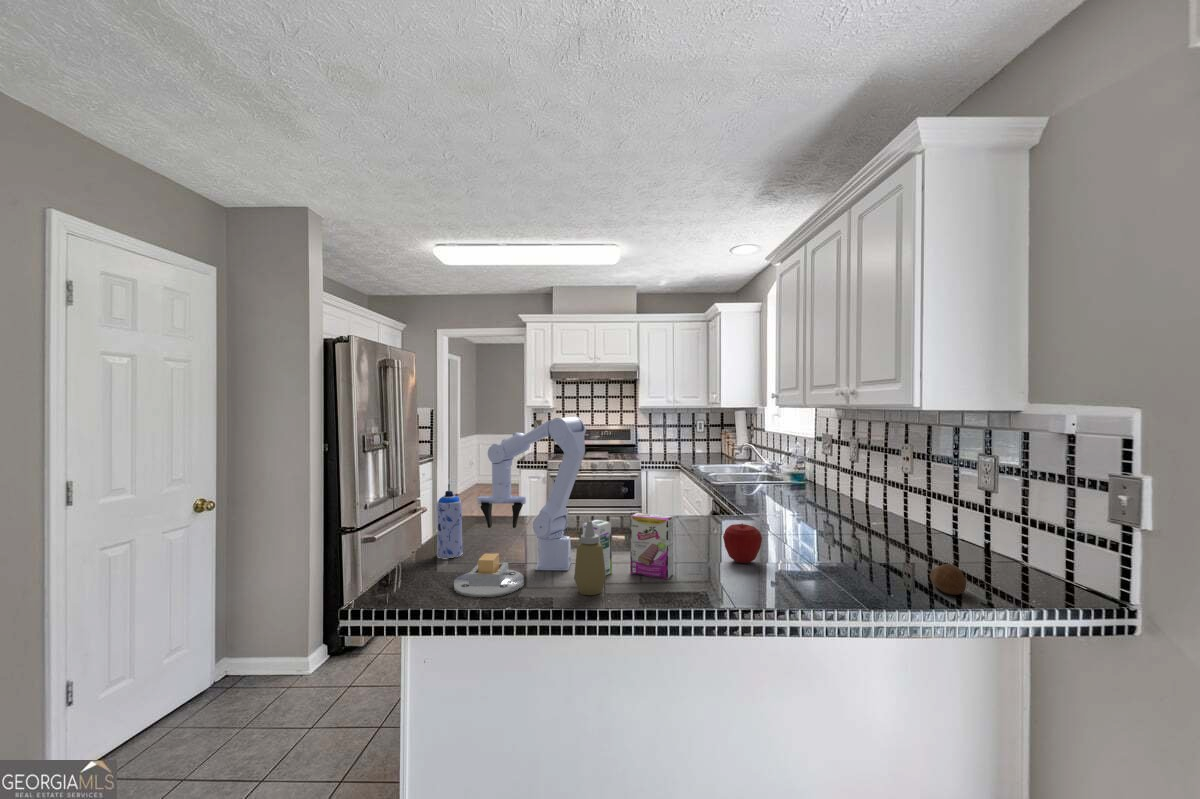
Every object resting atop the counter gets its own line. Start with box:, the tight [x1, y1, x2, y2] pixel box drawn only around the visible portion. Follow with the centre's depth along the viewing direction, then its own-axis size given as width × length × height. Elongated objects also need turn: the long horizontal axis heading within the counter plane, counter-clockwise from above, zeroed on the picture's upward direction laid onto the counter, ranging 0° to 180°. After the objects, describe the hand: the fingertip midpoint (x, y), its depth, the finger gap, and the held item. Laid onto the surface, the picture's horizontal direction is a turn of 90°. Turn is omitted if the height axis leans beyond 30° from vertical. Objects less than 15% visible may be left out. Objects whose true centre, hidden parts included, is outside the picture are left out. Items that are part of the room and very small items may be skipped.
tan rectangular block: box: [477, 553, 500, 573], centre depth 151 cm, size 4×6×6 cm, turn 176°
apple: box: [722, 522, 763, 564], centre depth 169 cm, size 11×11×12 cm
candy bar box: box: [629, 512, 674, 580], centre depth 158 cm, size 11×5×16 cm, turn 65°
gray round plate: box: [453, 561, 525, 598], centre depth 151 cm, size 18×18×4 cm
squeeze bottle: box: [573, 520, 607, 596], centre depth 145 cm, size 8×8×18 cm
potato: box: [929, 563, 967, 596], centre depth 144 cm, size 7×10×7 cm
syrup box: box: [582, 519, 613, 576], centre depth 159 cm, size 6×6×14 cm
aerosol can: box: [436, 490, 464, 559], centre depth 178 cm, size 8×8×20 cm
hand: (502, 527), depth 175 cm, fingers open, 7 cm apart
